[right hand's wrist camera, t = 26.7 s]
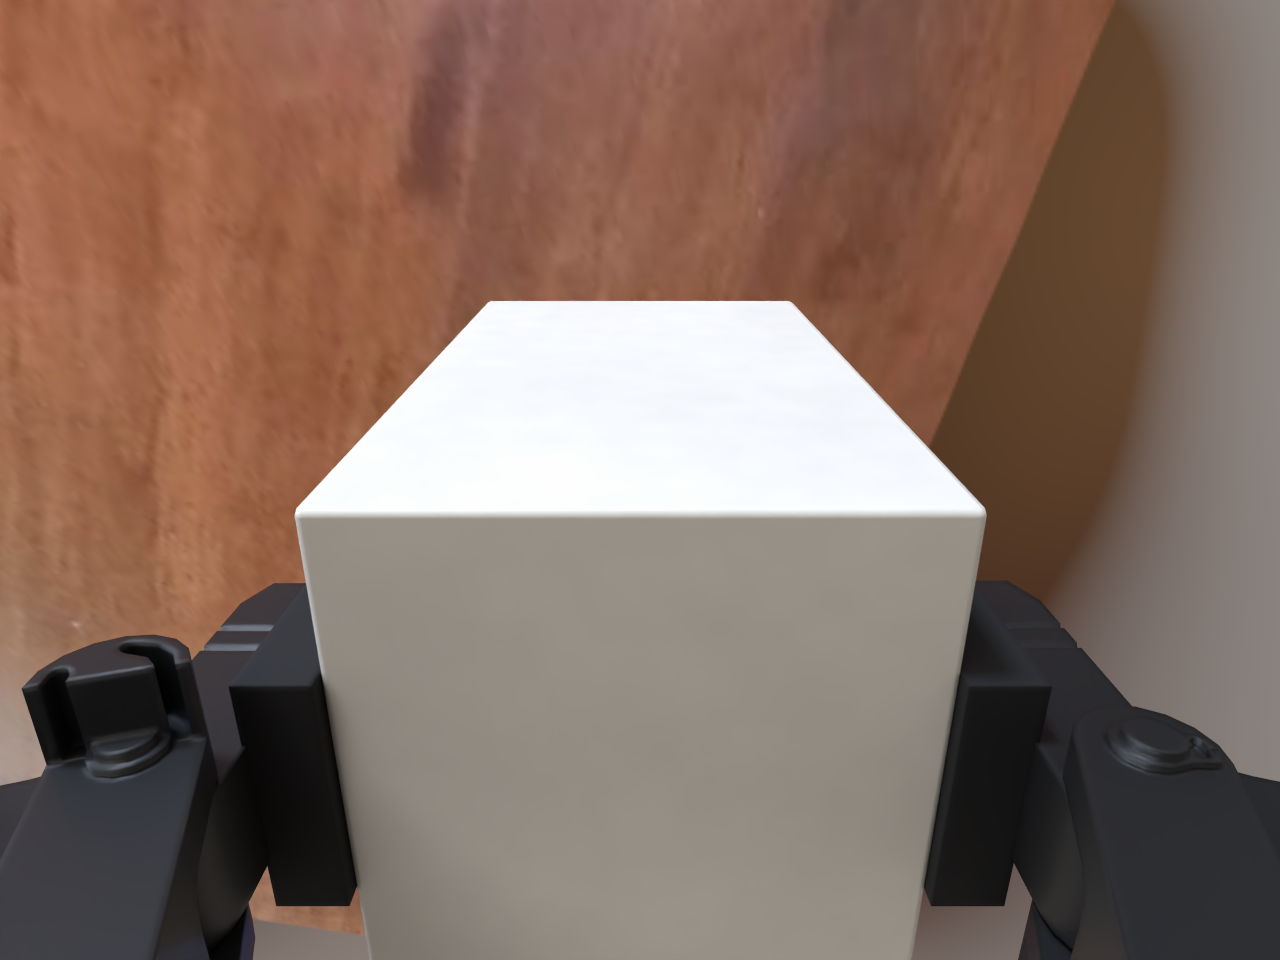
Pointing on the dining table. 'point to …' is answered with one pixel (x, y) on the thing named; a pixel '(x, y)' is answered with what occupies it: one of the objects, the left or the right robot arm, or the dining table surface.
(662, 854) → the block
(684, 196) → the dining table surface
